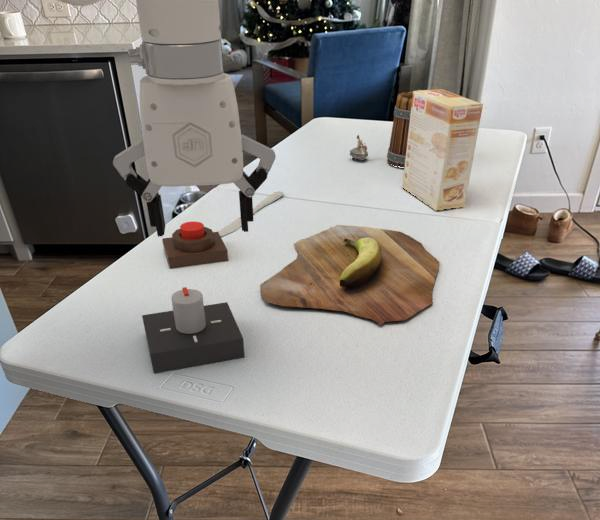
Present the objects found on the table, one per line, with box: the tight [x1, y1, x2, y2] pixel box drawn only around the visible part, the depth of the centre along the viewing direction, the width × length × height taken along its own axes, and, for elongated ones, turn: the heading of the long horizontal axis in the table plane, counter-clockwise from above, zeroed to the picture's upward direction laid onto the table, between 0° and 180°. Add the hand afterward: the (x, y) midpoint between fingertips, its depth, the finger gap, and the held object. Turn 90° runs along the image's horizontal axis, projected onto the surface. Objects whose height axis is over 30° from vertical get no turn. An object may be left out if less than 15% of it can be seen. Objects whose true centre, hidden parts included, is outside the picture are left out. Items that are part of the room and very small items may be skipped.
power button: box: [179, 221, 205, 240], centre depth 98 cm, size 4×4×2 cm
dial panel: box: [141, 301, 245, 374], centre depth 78 cm, size 12×10×3 cm
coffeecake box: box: [401, 88, 484, 212], centre depth 117 cm, size 15×7×20 cm, turn 20°
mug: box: [386, 89, 422, 167], centre depth 139 cm, size 16×11×15 cm
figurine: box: [349, 134, 369, 161], centre depth 142 cm, size 5×4×6 cm
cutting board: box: [259, 224, 441, 326], centre depth 96 cm, size 35×27×4 cm
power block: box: [161, 226, 229, 270], centre depth 100 cm, size 10×8×4 cm
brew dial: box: [170, 286, 206, 334], centre depth 76 cm, size 4×4×5 cm
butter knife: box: [217, 191, 284, 237], centre depth 115 cm, size 1×27×3 cm
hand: (203, 229), depth 67 cm, fingers open, 9 cm apart
